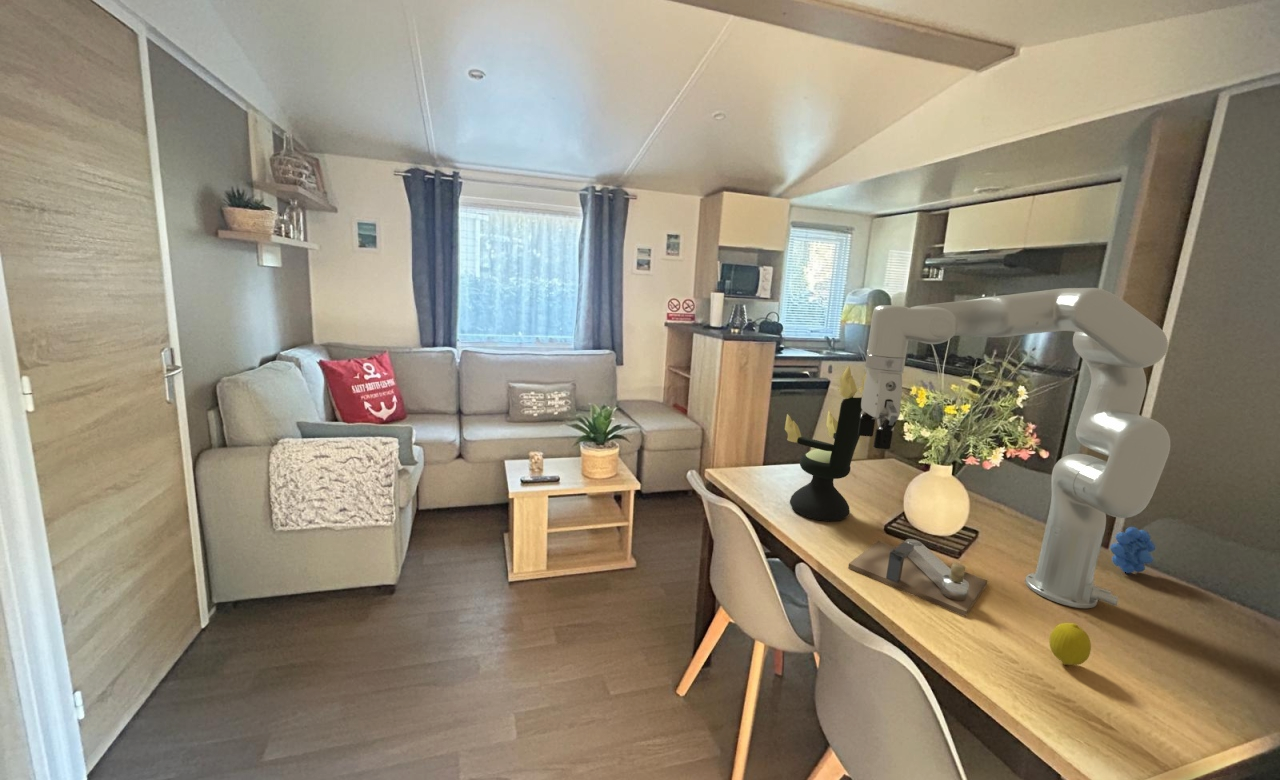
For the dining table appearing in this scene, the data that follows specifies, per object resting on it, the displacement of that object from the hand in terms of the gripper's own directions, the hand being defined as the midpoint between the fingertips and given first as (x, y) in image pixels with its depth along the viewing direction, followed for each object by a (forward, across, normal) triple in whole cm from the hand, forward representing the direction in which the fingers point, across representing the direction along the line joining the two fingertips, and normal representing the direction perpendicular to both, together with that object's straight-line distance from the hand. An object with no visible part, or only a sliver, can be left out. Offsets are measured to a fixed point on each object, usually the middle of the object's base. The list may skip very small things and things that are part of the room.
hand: (873, 441), depth 113 cm
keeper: (+30, -1, -9) cm, 31 cm away
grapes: (+31, +11, -70) cm, 77 cm away
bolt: (+29, 0, -17) cm, 34 cm away
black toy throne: (+31, +33, -3) cm, 46 cm away
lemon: (+31, -26, -28) cm, 50 cm away
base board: (+31, +1, -14) cm, 34 cm away
